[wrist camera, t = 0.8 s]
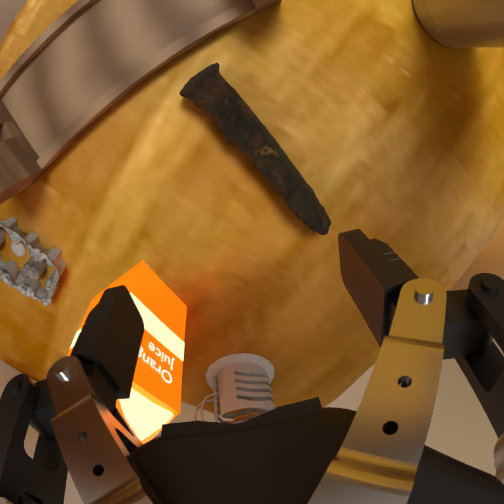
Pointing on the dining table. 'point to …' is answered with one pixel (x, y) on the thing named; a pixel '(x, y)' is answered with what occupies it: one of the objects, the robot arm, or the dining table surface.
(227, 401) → the french press
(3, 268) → the egg carton
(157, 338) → the orange juice
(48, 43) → the cradle
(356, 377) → the dining table surface
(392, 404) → the robot arm
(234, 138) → the hand tool
